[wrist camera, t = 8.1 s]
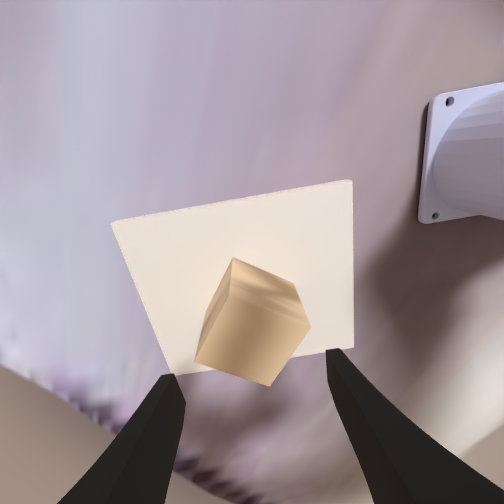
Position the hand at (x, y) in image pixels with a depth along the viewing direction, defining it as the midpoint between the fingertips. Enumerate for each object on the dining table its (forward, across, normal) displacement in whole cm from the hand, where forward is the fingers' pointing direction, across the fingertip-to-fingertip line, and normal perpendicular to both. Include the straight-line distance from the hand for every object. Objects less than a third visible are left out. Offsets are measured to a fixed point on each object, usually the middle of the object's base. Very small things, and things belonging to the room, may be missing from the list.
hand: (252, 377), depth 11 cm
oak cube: (+7, 0, 0) cm, 7 cm away
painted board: (+8, 0, 0) cm, 8 cm away
